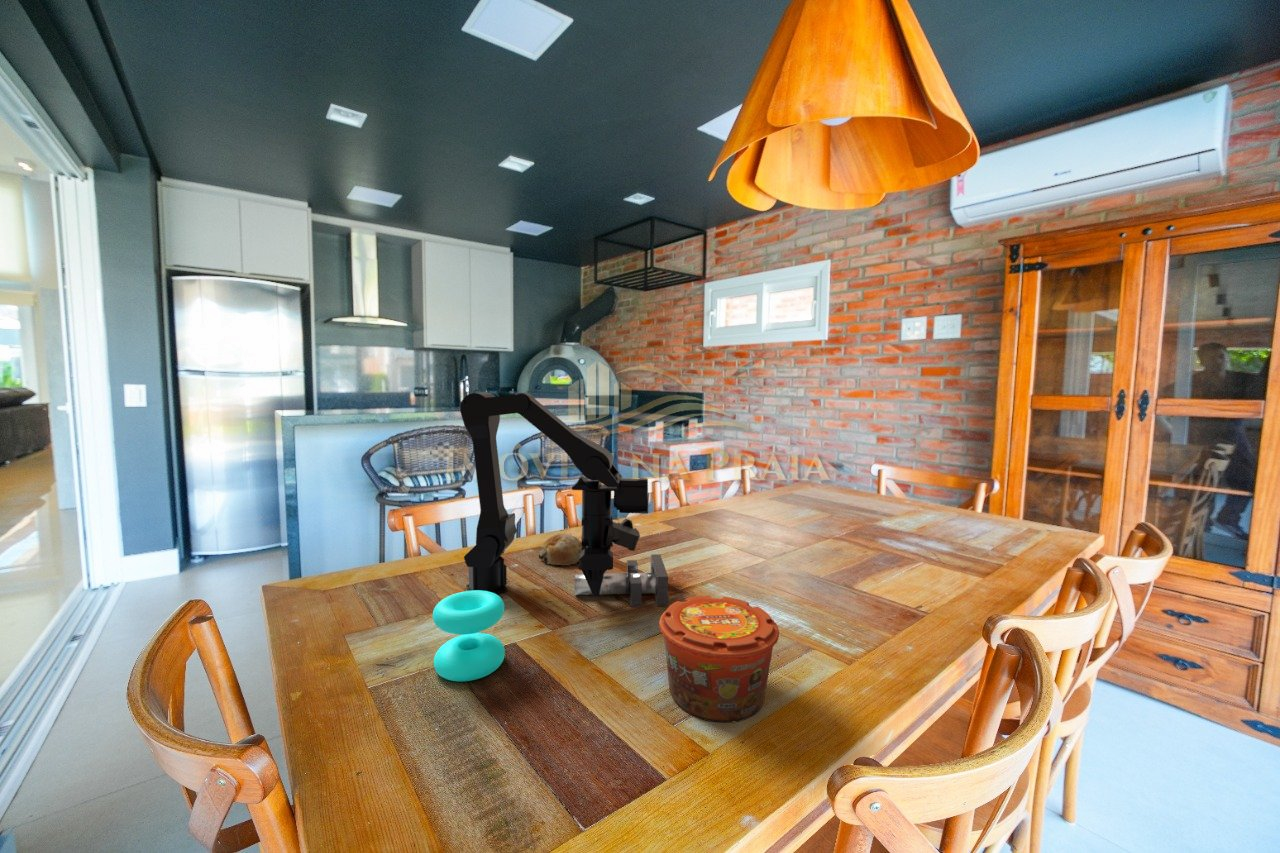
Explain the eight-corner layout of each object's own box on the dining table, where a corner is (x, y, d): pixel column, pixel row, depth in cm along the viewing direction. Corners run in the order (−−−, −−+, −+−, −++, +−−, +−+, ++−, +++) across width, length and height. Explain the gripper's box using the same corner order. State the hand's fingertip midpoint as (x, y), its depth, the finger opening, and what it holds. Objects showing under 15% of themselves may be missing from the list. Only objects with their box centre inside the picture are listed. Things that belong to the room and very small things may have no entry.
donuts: (492, 617, 70) (419, 615, 71) (493, 687, 71) (421, 684, 72) (512, 588, 80) (449, 586, 81) (512, 649, 81) (450, 647, 82)
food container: (693, 746, 60) (696, 658, 59) (639, 674, 75) (640, 602, 74) (802, 713, 67) (805, 633, 66) (732, 652, 81) (734, 586, 80)
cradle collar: (630, 606, 97) (631, 583, 97) (627, 581, 109) (627, 560, 109) (641, 606, 97) (641, 583, 97) (636, 580, 110) (636, 560, 109)
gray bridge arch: (657, 606, 97) (657, 576, 97) (650, 580, 110) (650, 554, 109) (667, 605, 98) (668, 576, 97) (659, 580, 110) (660, 554, 110)
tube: (574, 598, 100) (574, 578, 100) (575, 589, 104) (575, 570, 104) (656, 596, 102) (656, 577, 101) (654, 588, 106) (654, 569, 105)
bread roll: (572, 582, 118) (587, 552, 117) (531, 563, 117) (546, 532, 117) (577, 567, 127) (591, 538, 127) (540, 549, 127) (554, 520, 127)
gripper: (641, 524, 93) (640, 608, 94) (634, 500, 111) (633, 571, 113) (579, 525, 92) (578, 610, 93) (582, 501, 110) (581, 571, 112)
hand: (596, 588), depth 103 cm, fingers open, 6 cm apart
